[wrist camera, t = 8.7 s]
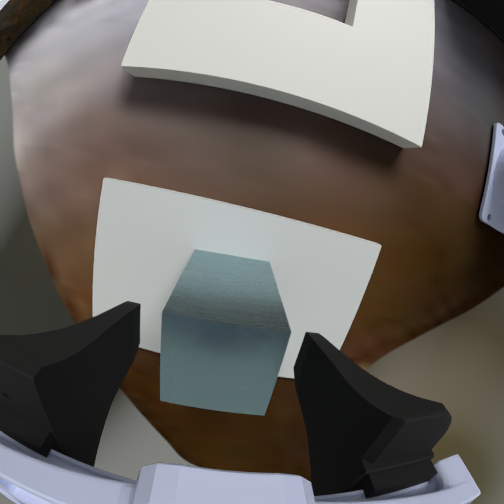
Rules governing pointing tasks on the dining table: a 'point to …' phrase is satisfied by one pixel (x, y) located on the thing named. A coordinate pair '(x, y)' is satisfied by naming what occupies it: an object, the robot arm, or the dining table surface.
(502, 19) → the camera
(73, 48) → the dining table surface
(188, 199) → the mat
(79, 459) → the robot arm
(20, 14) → the dark brown wooden bar
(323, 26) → the plate
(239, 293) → the teal rectangular block
